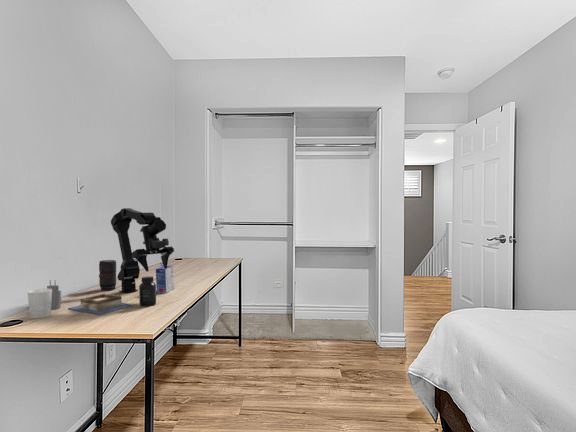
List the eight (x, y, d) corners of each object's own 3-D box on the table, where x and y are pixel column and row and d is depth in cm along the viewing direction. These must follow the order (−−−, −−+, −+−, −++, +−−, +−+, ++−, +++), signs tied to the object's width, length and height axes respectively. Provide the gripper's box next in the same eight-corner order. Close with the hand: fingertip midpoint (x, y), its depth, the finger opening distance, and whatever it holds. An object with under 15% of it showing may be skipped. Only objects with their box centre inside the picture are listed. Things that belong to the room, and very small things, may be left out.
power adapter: (47, 307, 157) (47, 279, 157) (61, 307, 158) (61, 279, 158) (44, 309, 154) (43, 280, 154) (58, 309, 155) (58, 280, 155)
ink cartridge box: (164, 288, 194) (163, 261, 194) (174, 289, 194) (174, 261, 194) (155, 293, 184) (155, 263, 184) (166, 293, 184) (166, 264, 184)
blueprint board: (68, 309, 154) (68, 308, 154) (102, 300, 169) (102, 299, 169) (100, 315, 145) (100, 313, 145) (133, 305, 160) (133, 304, 160)
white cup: (26, 320, 139) (26, 293, 139) (29, 315, 146) (29, 289, 146) (51, 317, 143) (51, 291, 143) (53, 312, 150) (53, 287, 150)
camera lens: (106, 291, 188) (106, 262, 188) (95, 290, 192) (95, 261, 192) (120, 288, 196) (119, 260, 195) (109, 287, 199) (109, 259, 199)
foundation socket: (80, 307, 155) (80, 299, 154) (104, 302, 164) (104, 293, 164) (98, 310, 150) (98, 301, 150) (121, 304, 159) (121, 296, 159)
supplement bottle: (159, 303, 163) (159, 276, 163) (147, 307, 157) (147, 278, 157) (147, 302, 166) (147, 275, 166) (135, 305, 160) (135, 277, 160)
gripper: (139, 233, 163) (146, 268, 159) (176, 231, 177) (183, 263, 174) (128, 241, 169) (134, 274, 166) (164, 238, 184) (171, 269, 180)
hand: (156, 270), depth 171 cm, fingers open, 9 cm apart
